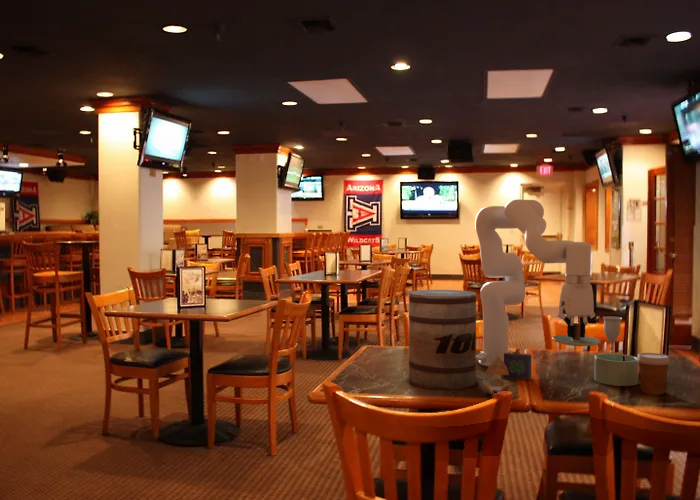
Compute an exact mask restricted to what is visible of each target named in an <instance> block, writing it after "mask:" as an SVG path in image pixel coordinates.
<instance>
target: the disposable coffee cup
mask: <svg viewBox="0 0 700 500" xmlns="http://www.w3.org/2000/svg"><path fill="white" fill-rule="evenodd" d="M636 357H637V358H636V359H637V361H638V367H639V383H640V390H641V392H642V393H645V394H648V395H649V394H650V395H664V393H665V387H666V383H667V382H666V381H667V374H668V368H669V365H670V363H671V359H670V358H669V356H668V355H667V354H663V353H658V352H640V353H638V354H637V356H636Z"/></svg>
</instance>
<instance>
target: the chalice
mask: <svg viewBox="0 0 700 500" xmlns="http://www.w3.org/2000/svg"><path fill="white" fill-rule="evenodd" d="M602 319H603V333H604V335H605V337H606V340H607V341H608V342H609V343H610V345H609V348H610V350H609V353H613V354H615V351H614V349H615V346H614V343H615V342H617V340H618V338H619V336H620V334H621V326H622V325H621V321H622V319H623V317H620V316H612V315H610V316H609V315H607V316H605V315H604V316H602Z"/></svg>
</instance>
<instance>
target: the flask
mask: <svg viewBox="0 0 700 500" xmlns="http://www.w3.org/2000/svg"><path fill="white" fill-rule="evenodd" d="M520 350H521V348H515V351H512V352H511V350H508V352H506V353H504V364H505V365H506V367H507V369H508V373H509V375H503V378H504V379H511V380H512V379H514V380H531V379H532V354H531V353H522V352H521V351H520Z"/></svg>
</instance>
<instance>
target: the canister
mask: <svg viewBox="0 0 700 500" xmlns="http://www.w3.org/2000/svg"><path fill="white" fill-rule="evenodd" d="M623 356H624V357H625V361H623ZM637 357H638V356H634V355H630V354H625V355H624V354H623V353H610V352H609V353H608V352H607V353H604V352H603V353H598V354H597V353H596V354H595V355H594V356H593V380H594V381H595V382H597V383H599V384H603V385H609V386H618V387H630V386H631V387H632V386H637V385H639V383H640V375H639V367H638V361H637V359H636V358H637Z"/></svg>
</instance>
